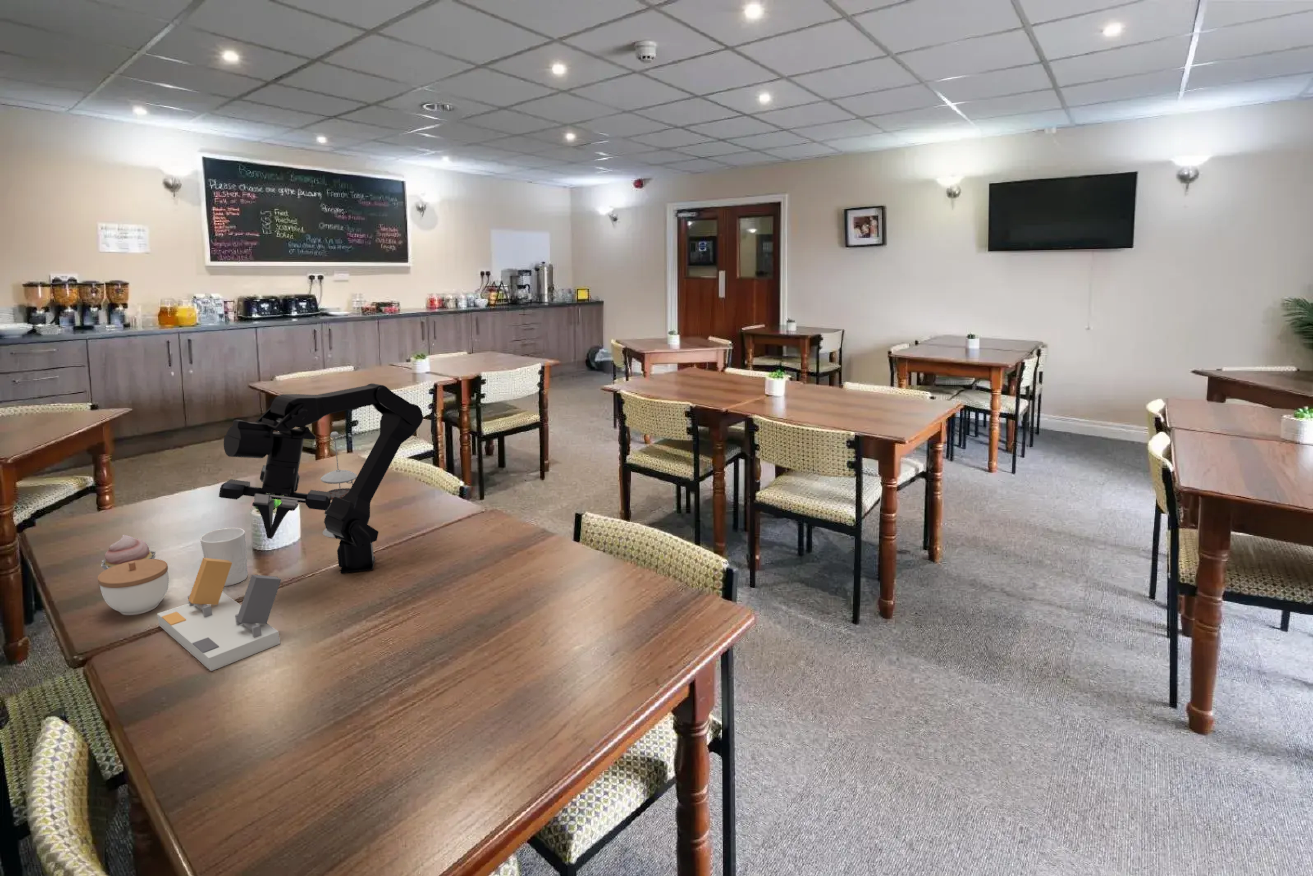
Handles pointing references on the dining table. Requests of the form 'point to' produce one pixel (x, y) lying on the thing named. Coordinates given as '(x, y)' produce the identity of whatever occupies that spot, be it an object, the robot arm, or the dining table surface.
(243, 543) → the white cup
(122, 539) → the cupcake
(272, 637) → the switch console
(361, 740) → the dining table surface
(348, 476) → the french press
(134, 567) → the lidded jar
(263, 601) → the charcoal rocker
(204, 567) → the orange rocker
